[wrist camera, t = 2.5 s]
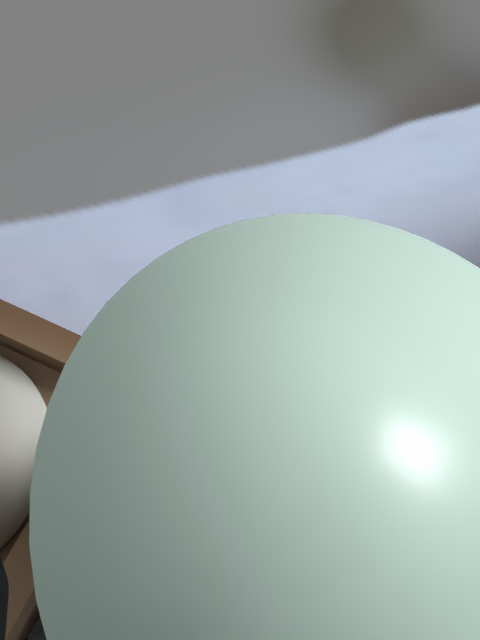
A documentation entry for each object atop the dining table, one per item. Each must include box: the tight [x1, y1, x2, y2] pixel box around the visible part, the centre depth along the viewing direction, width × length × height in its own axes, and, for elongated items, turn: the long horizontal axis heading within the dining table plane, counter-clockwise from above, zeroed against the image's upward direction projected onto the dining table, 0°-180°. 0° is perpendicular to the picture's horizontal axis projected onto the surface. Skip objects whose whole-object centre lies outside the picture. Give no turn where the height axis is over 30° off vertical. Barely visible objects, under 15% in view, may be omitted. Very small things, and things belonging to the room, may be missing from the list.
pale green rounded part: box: [29, 213, 480, 640], centre depth 10 cm, size 6×6×12 cm
